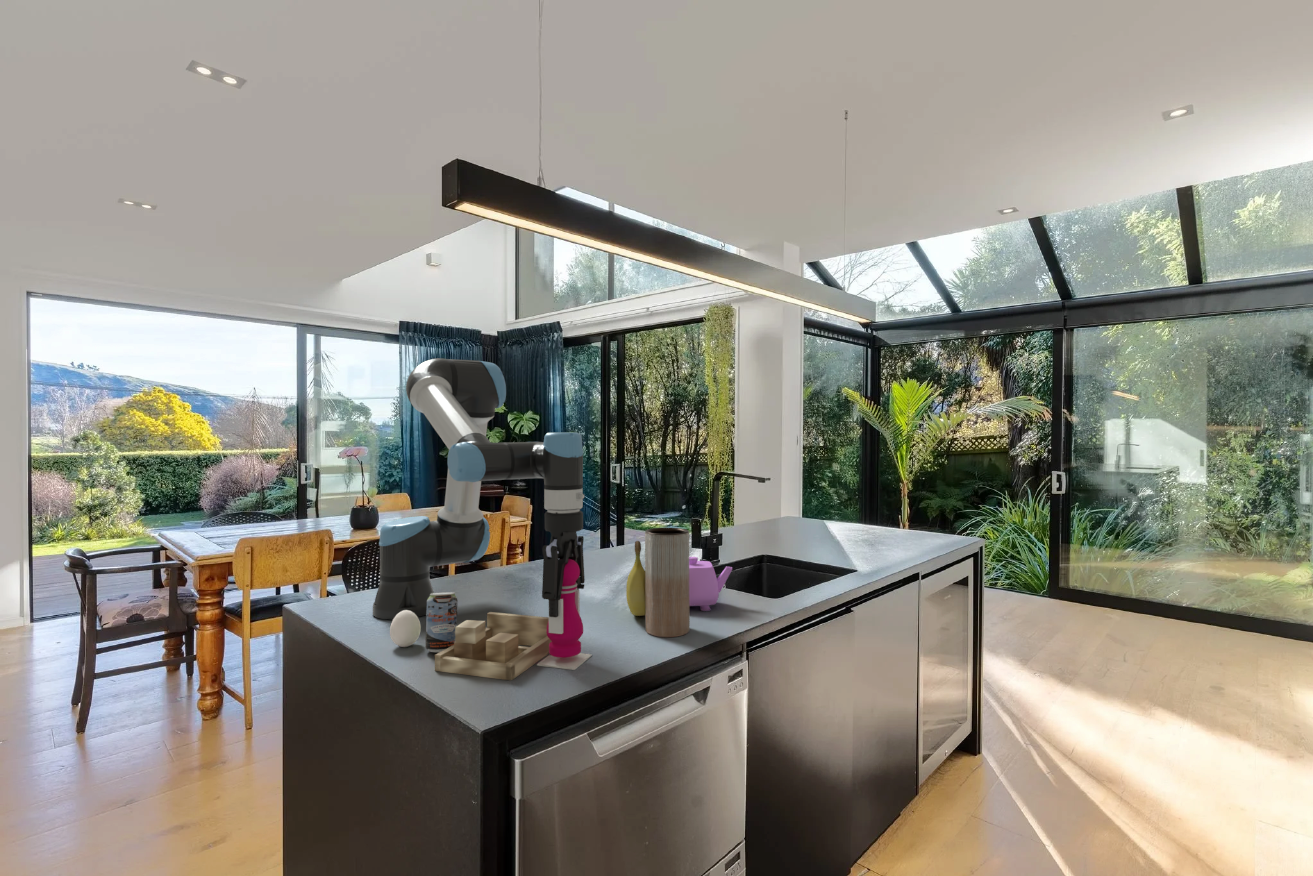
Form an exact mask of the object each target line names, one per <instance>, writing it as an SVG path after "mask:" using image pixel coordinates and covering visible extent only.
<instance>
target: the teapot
mask: <svg viewBox="0 0 1313 876" xmlns="http://www.w3.org/2000/svg"><path fill="white" fill-rule="evenodd" d="M732 571H733V567H732V566H725V567H724V569H723V570H722V572H721V573H720V574H719V575H718V577H717V574H716V572H715V568H714V566H713V564H712V562H711V561H708V560H699V558H698V556H689V601H690V607H699V608H700V611H703V612H705V611H706V612H708V611H709V612H710V611H711V607H710V606H714V605H716V604H717V602H718V600H719V595H720V594H719V593H721V591H722V589H723V588H724V586H725V584H726V582H727V580H728V579H729V577H730V575H731V572H732Z"/></svg>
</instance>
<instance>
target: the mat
mask: <svg viewBox="0 0 1313 876" xmlns="http://www.w3.org/2000/svg"><path fill="white" fill-rule="evenodd" d="M591 657H592V654H591V653H584V652H583V653H582V652H580V653H579V654H578V655H576V656H572V657H563V658H561V657H554V656H552V655H550V654H548V655H546V656H545V657H544V658H542V659H541V660H539V661H538V662H537V663H536V666H537V667H544V668H545V667H547V668H555V669H563V670H570V671H571V670H573V671H575V670H576V669H578V668H579V667H580V666H581V665H582V664H584V663H585V662H587V660H588V659H590V658H591Z"/></svg>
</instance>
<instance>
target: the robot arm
mask: <svg viewBox="0 0 1313 876" xmlns="http://www.w3.org/2000/svg"><path fill="white" fill-rule="evenodd" d="M506 384H507V383H506V380H505V377H504V375H503V371H502V370H501V368H500V367H499V366H498V365H497V364H496V363H493V362H489V361H482V360H471V359H469V360H468V359H453V358H452V359H449V358H448V359H447V358H441V357H440V358H439V357H438V358H431V359H428V360H425V361H422V362H421V363H420V364H418V365H417V366H415V368H413V370H412V371H411V372H410V374H409V375H408V378H407V381H406V384H405V392H406V396H407V398H408V401H409V402H410V404H411V406H412V407H413V409H415V410H416V411H417V412H419V413H422V414H423V415H424V416H425V418H426V419H427V421H428V422H429V423H430V425H431V427H432V428H433V429H434V431H435V432H436V433H437V435H438V436H439V437H440V438H441V440H442V442H443V443H444V444H445V446H446V447H447V449H448V453H447V454H448V455H447V476H446V487H445V496H444V506H443V507H441V508H440V509H439V510H438V511H437V516H436V520H430V519H429V517H428V516H425V515H417V516H409V517H404V518H403V517H402V518H398V519H394V520H391V521H388V522H386V523H385V524H383V525H382V526H381V528H380V534H379V542H378V546H379V584H378V585H379V586H378V588H377V589H378V590H377V591H376V594H375V598H374V602H373V604H372V616H373V615H374V616H375V618H376V619H381V620H393V619H394V618H395V616H396V615H397V614H398V613H399V612H401V611H403V610H409V611H412V612H413V613H415V615H416V616H417V617H418V618H420V617H423V616H426V614H427V600H428V598H429V597H430V594H431V593H435V590H434V588H433V585H432V582H431V579H430V569H431V567H438V566H439V567H440V566H445V565H452V564H461V563H462V564H466V563H469V562H472V561H473V562H474V561H479V560H480V559H481V558H482V557H483V556H484V555H485V554H486V552H487V550H488V548H489V545H490V538H491V532H490V525H489V522H488V520H487V519H486V518H485V517H484V513H483V512H482V511H481V510H480V508H479V505H480V496H481V486H482V482H485V481H487V482H488V481H502V480H504V481H506V480H525V479H527V480H528V479H543V481H544V489H543V490H544V495H543V497H544V500H543V502H544V505H543V506H544V507H543V508H544V509H545V510H547V511H545V513H544V530H545V532H549V533H550V535H551V537H550V541H549V545H542V556H543V563H542V564H543V566H542V583H541V584H542V586H541V589H542V590H541V598H542V599H543V600H548V617H549V633H556V634H562V633H563V599H560V598H561V591H562V584H563V577H564V568H565V565H566V564H567V563H568V559H572V560H574V561H575V562H576V563H577V564H578V566H579V568H580V575H579V578H578V579H577V580H576V583H577V584H578V585H577V591H576V592H575V604H576V608H577V611H578V613H579V615H580V612H581V611H580V599H581V598H580V590H584V589H585V584H584V583H585V580H586V579H585V562H584V561H585V560H584V542H585V541H584V538H585V537H584V536H583V535H577V532H580V531H582V530H583V529H584V512H583V511H582V510H581V509H582V508H583V506H584V505H583V503H584V502H583V501H584V500H583V499H584V498H585V494H584V493H583V491H584V490H583V485H584V481H583V480H584V478H583V477H584V473H583V472H584V450H583V437H582V435H581V433H579V432H575V431H574V432H571V431H569V432H565V431H564V432H560V431H559V432H557V431H556V432H554V431H553V432H547V433H546V434H545V435H544V437H543V438H544V439H543V442H542V441H525V442H524V441H521V442H520V441H518V442H512V441H511V442H491V441H490V440H489V438H488V437H487V430H488V429H487V428H488V423H489V421H490V420H492V419H493V418H494V417H495V413H496V412H495V411H496V409H499V408H501V407H503V406H504V403H505V402H506V399H507V398H506V396H507V386H506ZM374 616H373V617H374ZM580 616H581V615H580Z"/></svg>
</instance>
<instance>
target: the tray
mask: <svg viewBox="0 0 1313 876" xmlns="http://www.w3.org/2000/svg"><path fill="white" fill-rule="evenodd" d="M548 621H549V616H538V615H536V616H535V615H526V614H525V615H524V614H515V613H507V612H506V613H504V612H492V611H489V612H487V613H486V627H485V633H486V636H487V640H488V639H490V638H492V637H493V636H495V635H497V634H499V633H508V634H518V654H519V655H518V656H516V657H514V658H513V659H511V660H510V661H508V662H507V663H498V662H490V661H482V660H473V659H465V658H456V657H454V645H453V646H451V647H449V648H447V649H445V650H443V651H441V652H436V654H434V671H435V672H443V673H450V674H457V675H466V676H474V677H482V678H488V679H489V678H490V679H496V680H504V681H513V680H515V678H517V677H518V676H520V675H521V674H523V673H524V672H525V671H527V670H528V669H530V668H531V667H533V666H534V665H536V664H537V663H539V662H540V661H542V660H543V659H544V658H546V657H547V656H549V655H550V654H549V644H550V643H551V642H552V641H551V640H550V639H549V638H548V636H547V633H546V631H547V624H548Z"/></svg>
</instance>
